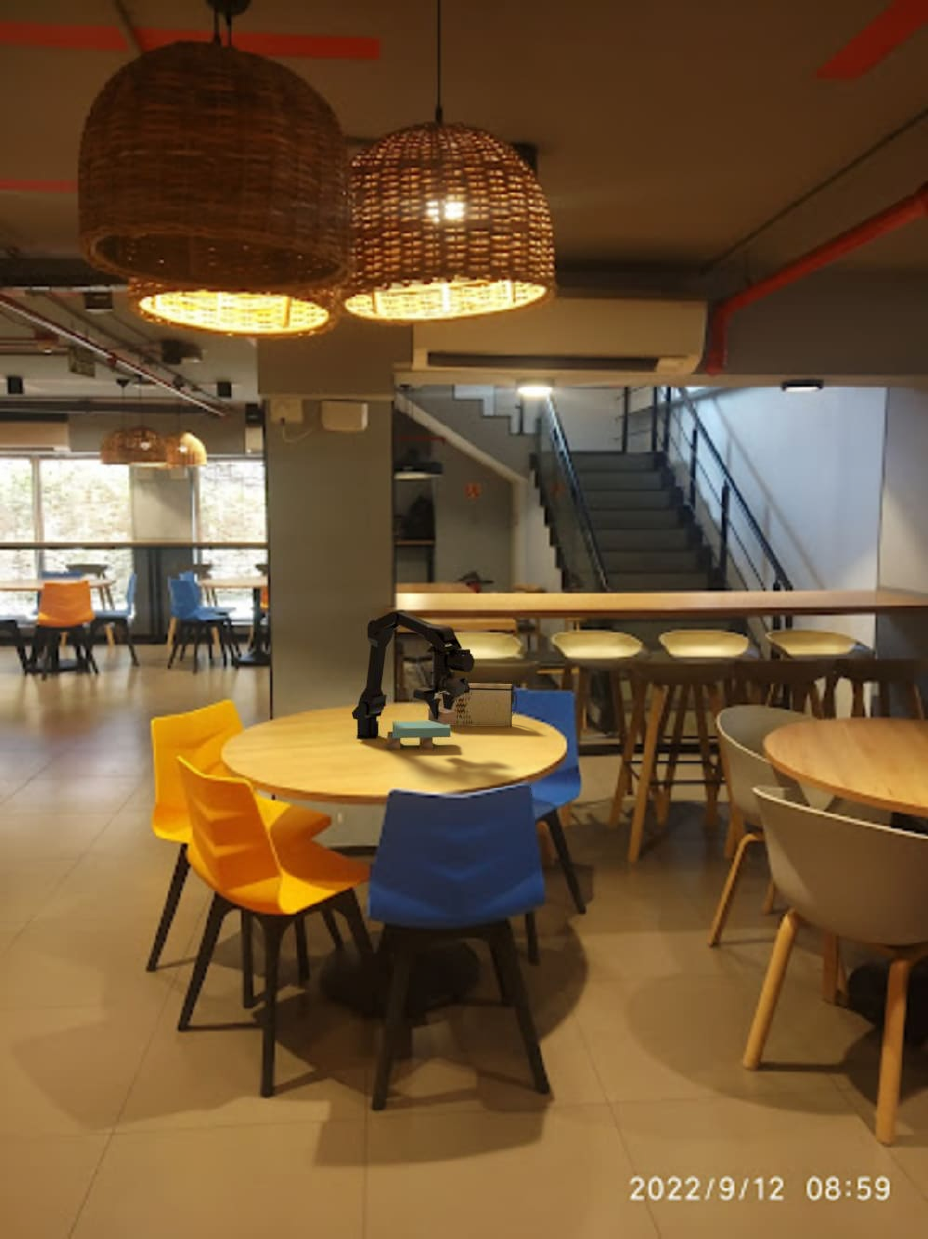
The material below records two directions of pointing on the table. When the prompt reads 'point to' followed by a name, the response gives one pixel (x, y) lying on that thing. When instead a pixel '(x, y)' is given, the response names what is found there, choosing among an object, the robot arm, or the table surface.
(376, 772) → the table surface
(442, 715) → the block
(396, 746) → the block
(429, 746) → the block
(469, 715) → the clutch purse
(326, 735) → the table surface
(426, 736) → the slab
